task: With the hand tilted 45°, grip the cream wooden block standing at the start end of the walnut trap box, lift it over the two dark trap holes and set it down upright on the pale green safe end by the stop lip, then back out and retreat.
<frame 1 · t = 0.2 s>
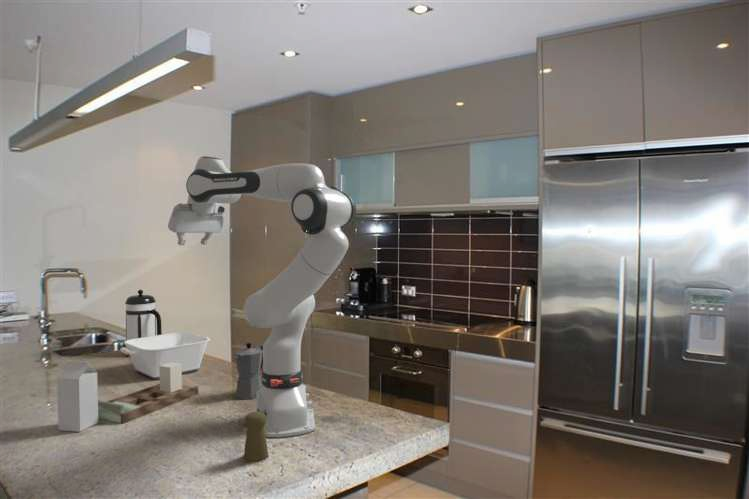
hand: (192, 244, 170), 52 cm above the counter, tool tilted 20°, fingers open, 8 cm apart
olive tapered knob-topped piece: (256, 458, 125), on the counter
cream block: (170, 389, 174), point 2 cm above the counter, touching trap box
tub: (167, 372, 205), on the counter
trap box: (146, 404, 165), on the counter
coffee press: (144, 355, 234), on the counter
coffeepot: (251, 395, 175), on the counter
milk carton: (78, 427, 146), on the counter
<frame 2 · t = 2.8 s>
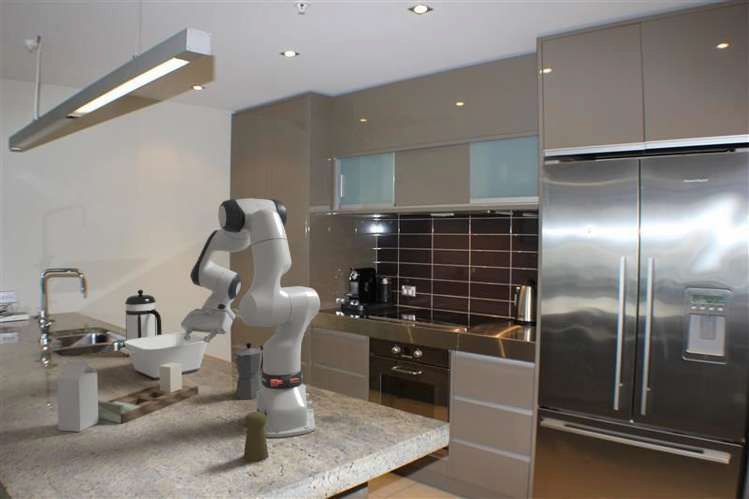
hand: (195, 340, 184), 17 cm above the counter, tool tilted 45°, fingers open, 8 cm apart
nothing on the counter moved.
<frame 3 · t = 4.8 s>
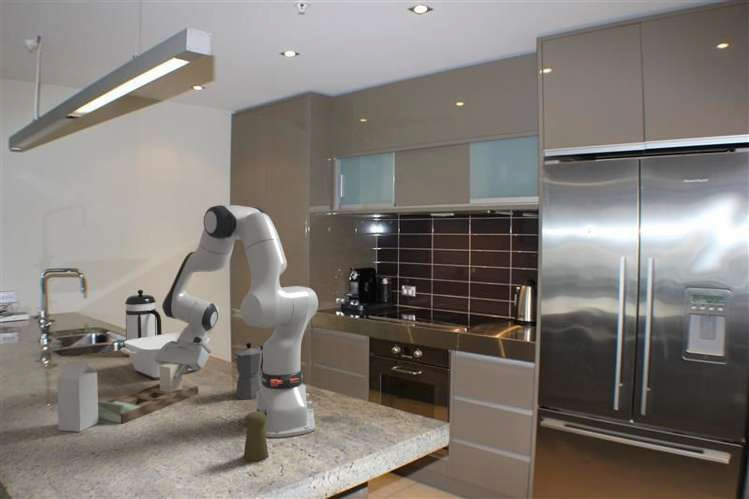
hand: (169, 377, 173), 6 cm above the counter, tool tilted 45°, fingers closed on cream block, 5 cm apart
cream block: (170, 389, 174), point 2 cm above the counter, touching gripper, trap box
everything else where it was.
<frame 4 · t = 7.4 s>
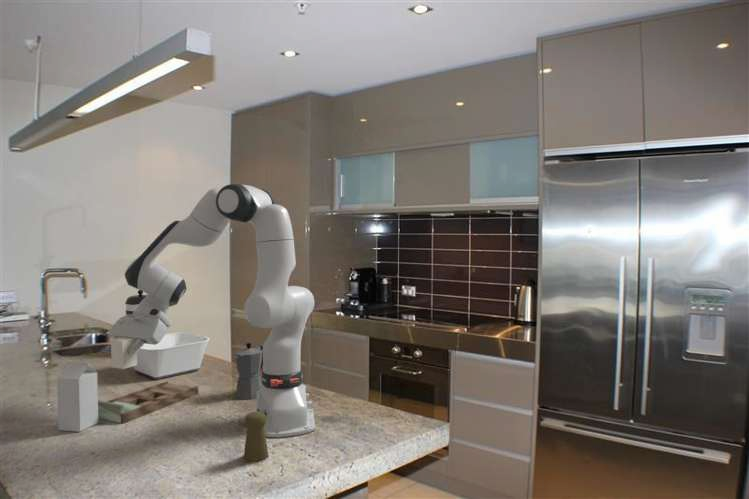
hand: (122, 352, 157), 19 cm above the counter, tool tilted 45°, fingers closed on cream block, 5 cm apart
cream block: (124, 366, 157), point 14 cm above the counter, touching gripper
everything else where it was.
when the fingers open (8 cm above the counter, at t = 10.2 s): cream block drops 1 cm, resting on trap box.
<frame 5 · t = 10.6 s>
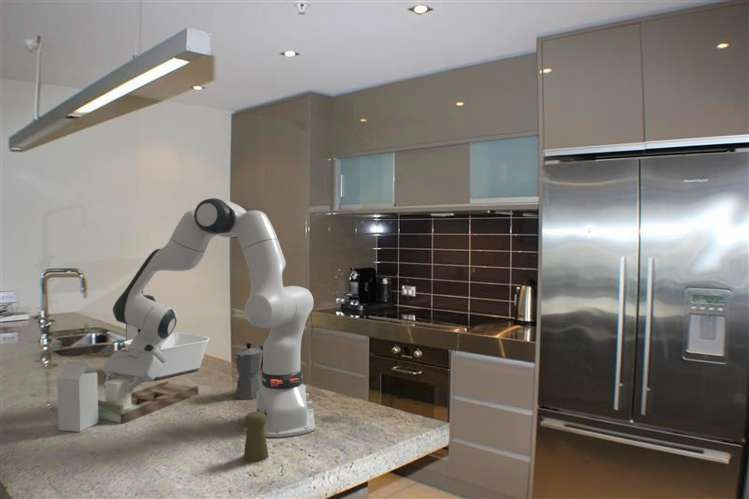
hand: (116, 389, 155), 8 cm above the counter, tool tilted 45°, fingers open, 8 cm apart
cream block: (118, 408, 155), point 2 cm above the counter, touching trap box
everything else where it was.
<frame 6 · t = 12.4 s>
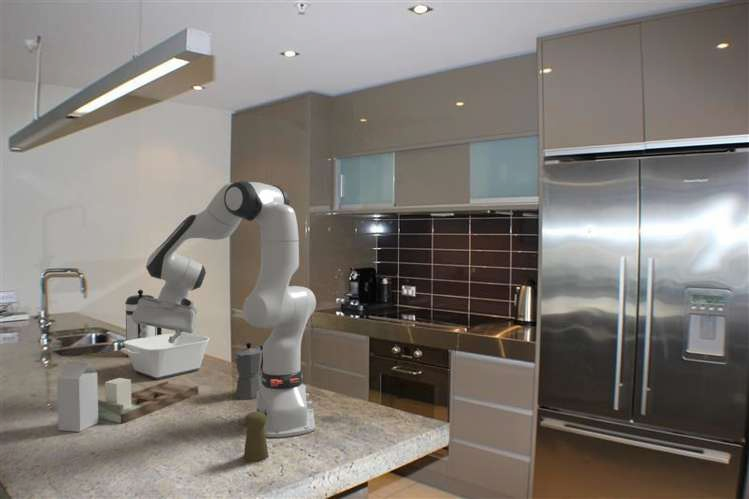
hand: (156, 339, 167), 21 cm above the counter, tool tilted 35°, fingers open, 8 cm apart
nothing on the counter moved.
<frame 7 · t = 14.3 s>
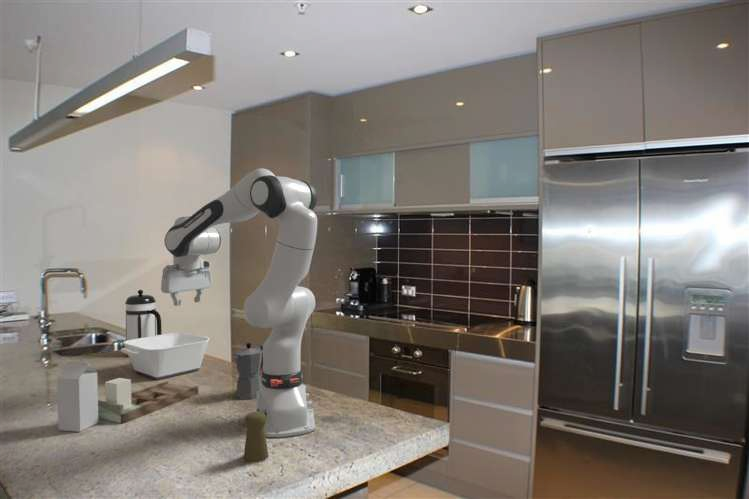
hand: (187, 303, 176), 31 cm above the counter, tool pointing down, fingers open, 8 cm apart
nothing on the counter moved.
at the end: cream block inside the target area (0.1 cm from its centre), point 2.0 cm above the counter; cream block tilted 0°; the gripper is holding nothing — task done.
